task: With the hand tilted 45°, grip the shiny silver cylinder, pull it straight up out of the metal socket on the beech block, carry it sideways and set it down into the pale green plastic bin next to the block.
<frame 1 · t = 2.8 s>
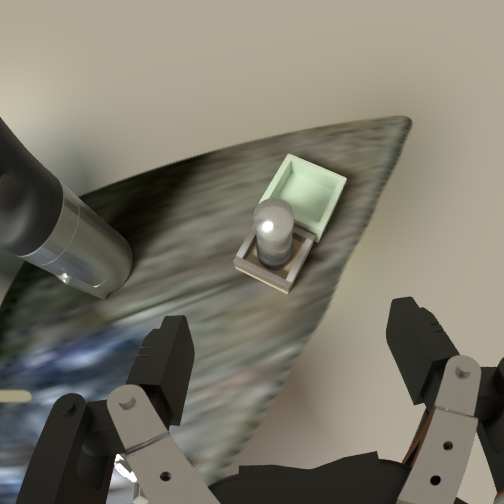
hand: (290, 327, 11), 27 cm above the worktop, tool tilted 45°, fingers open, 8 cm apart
socket block: (274, 256, 40), on the worktop
bin: (302, 204, 42), on the worktop
shiny silver cylinder: (274, 253, 39), point 1 cm above the worktop, touching socket block
lighter: (147, 466, 32), on the worktop
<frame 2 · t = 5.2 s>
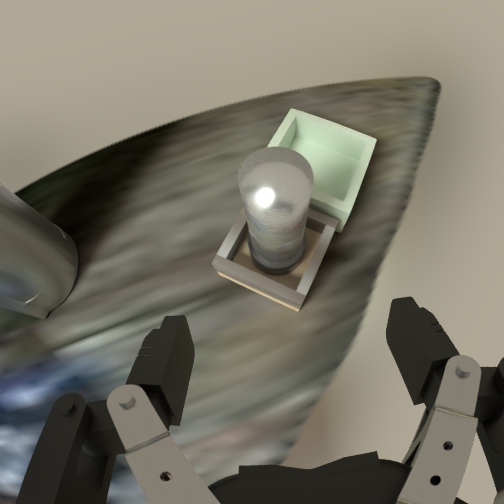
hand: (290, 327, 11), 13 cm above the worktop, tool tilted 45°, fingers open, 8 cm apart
socket block: (277, 254, 27), on the worktop
bin: (314, 178, 29), on the worktop
shiny silver cylinder: (277, 250, 26), point 1 cm above the worktop, touching socket block
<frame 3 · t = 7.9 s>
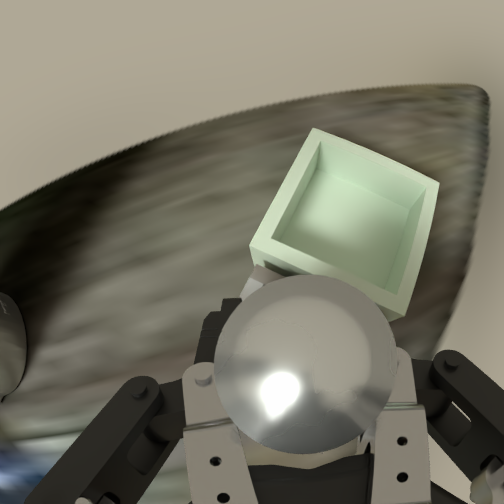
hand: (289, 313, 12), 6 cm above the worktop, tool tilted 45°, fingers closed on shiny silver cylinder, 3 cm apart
socket block: (288, 360, 17), on the worktop
bin: (344, 237, 19), on the worktop
shiny silver cylinder: (288, 360, 16), point 1 cm above the worktop, touching gripper, socket block
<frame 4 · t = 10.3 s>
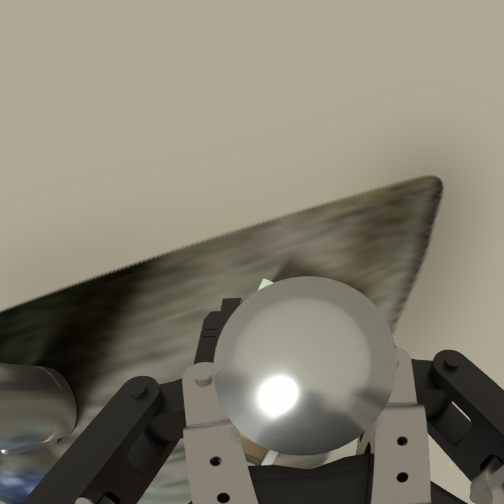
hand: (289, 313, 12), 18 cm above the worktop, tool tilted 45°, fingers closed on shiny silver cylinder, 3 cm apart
socket block: (248, 421, 27), on the worktop
shiny silver cylinder: (288, 361, 16), point 13 cm above the worktop, touching gripper
when the fingers open (7 cm above the worktop, at t = 12.8 s): shiny silver cylinder drops 1 cm, resting on bin.
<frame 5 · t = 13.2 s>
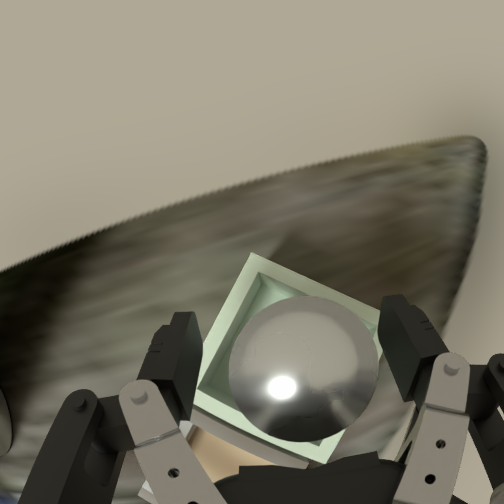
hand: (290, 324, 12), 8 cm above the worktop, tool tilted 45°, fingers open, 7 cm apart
socket block: (226, 468, 16), on the worktop
bin: (286, 360, 18), on the worktop
shiny silver cylinder: (287, 362, 17), point 1 cm above the worktop, touching bin
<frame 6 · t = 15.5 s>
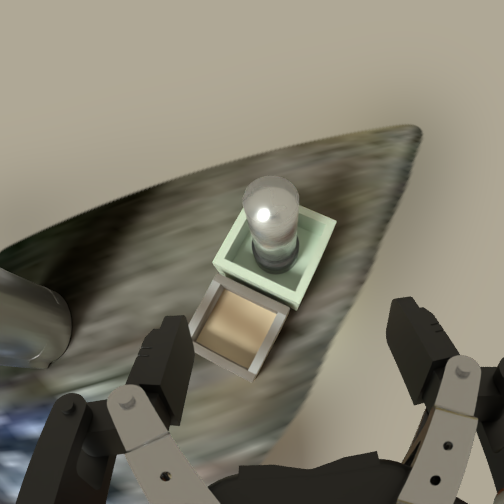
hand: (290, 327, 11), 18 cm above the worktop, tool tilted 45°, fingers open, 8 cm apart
socket block: (238, 329, 30), on the worktop
bin: (276, 255, 32), on the worktop
shiny silver cylinder: (276, 253, 31), point 1 cm above the worktop, touching bin
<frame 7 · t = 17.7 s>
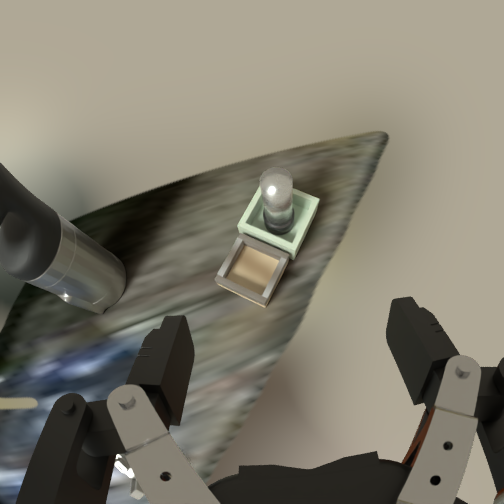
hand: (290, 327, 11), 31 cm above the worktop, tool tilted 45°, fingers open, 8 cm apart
socket block: (253, 273, 44), on the worktop
bin: (279, 223, 46), on the worktop
shiny silver cylinder: (279, 221, 45), point 1 cm above the worktop, touching bin
lighter: (143, 463, 36), on the worktop
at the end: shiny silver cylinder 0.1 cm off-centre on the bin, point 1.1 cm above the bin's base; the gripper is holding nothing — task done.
